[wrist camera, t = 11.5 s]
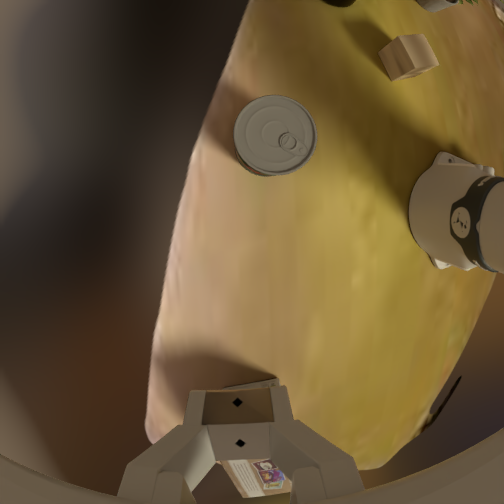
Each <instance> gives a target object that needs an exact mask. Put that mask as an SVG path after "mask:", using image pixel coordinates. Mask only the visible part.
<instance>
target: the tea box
mask: <svg viewBox="0 0 504 504" xmlns="http://www.w3.org/2000/svg"><path fill="white" fill-rule="evenodd" d="M274 386H280V382H279V379H278V378H276V379H271V380H266V381H260V382H255V383H249V384H244V385H238V386H232V387H226V388H223V389H222V390H240V389H255V388H267V387H274ZM220 462H221V464H222V466H223V467H224V469H225V470H226V472H227V473H228V475H229V477H230V478H231V480H232V481H233V483H234V484H235V486H236V488H237V490H238V491H239V493H240V494H241V495H242V497H243V498H247V497H257V496H265V495H272V494H279V493H285V492H291V488H292V482H291V481H290V480H289V479H288V478H287V477H286V476H285V475H284V474H283V473H282V471H281V470H280V469H279V468H278V467H277V466H276V465H275V464H274V463H273V462H272V461H271V460H270V459H249V460H225V461H220Z"/></svg>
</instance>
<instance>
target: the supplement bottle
mask: <svg viewBox="0 0 504 504" xmlns="http://www.w3.org/2000/svg"><path fill="white" fill-rule="evenodd" d="M323 1H325V2H326V3H328V4H330V5H333V6H337V7H348V6H350V5H352V4H353V3H354V2H355V1H356V0H323Z"/></svg>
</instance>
